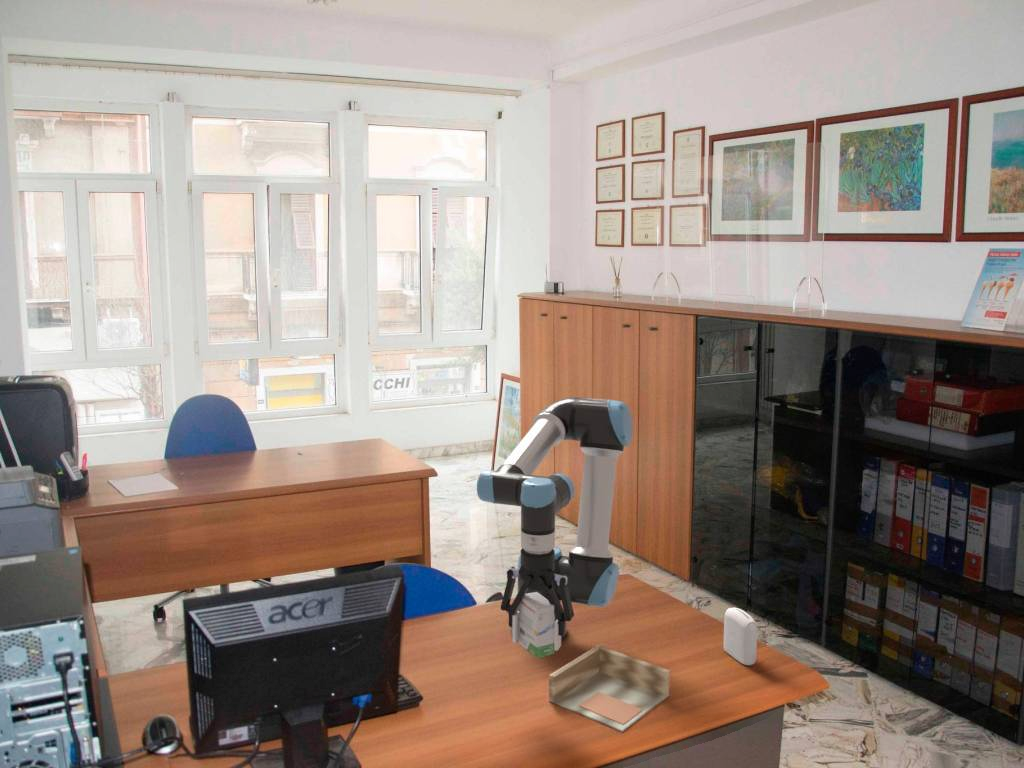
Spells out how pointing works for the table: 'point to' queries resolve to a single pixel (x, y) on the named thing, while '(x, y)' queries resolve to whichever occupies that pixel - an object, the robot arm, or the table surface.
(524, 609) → the ink box
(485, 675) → the table surface
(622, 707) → the pad
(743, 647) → the photo printer
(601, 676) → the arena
